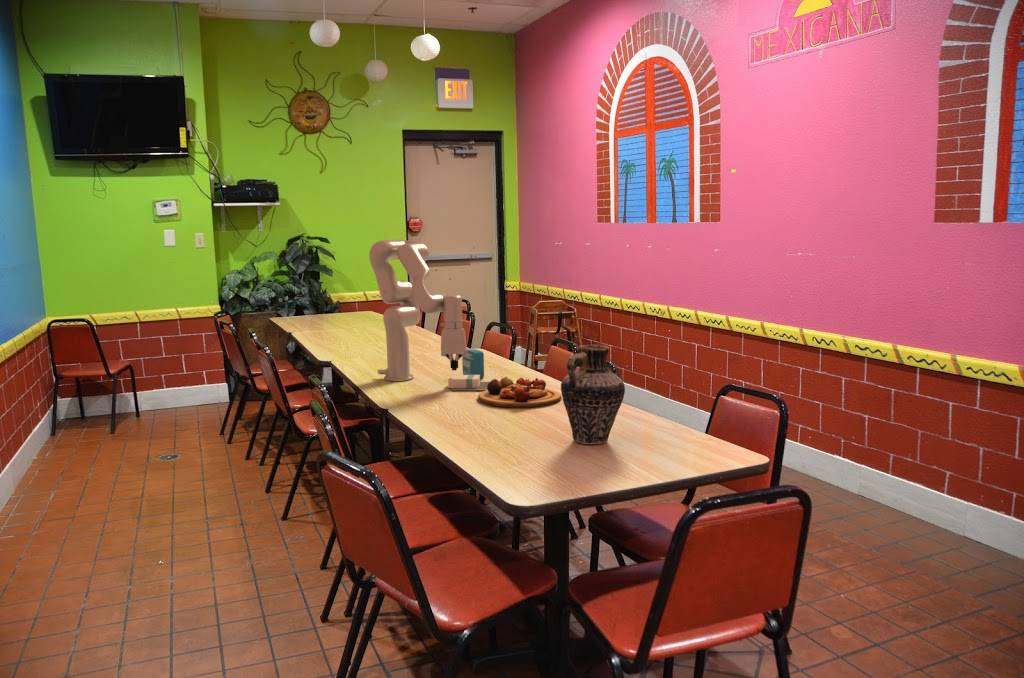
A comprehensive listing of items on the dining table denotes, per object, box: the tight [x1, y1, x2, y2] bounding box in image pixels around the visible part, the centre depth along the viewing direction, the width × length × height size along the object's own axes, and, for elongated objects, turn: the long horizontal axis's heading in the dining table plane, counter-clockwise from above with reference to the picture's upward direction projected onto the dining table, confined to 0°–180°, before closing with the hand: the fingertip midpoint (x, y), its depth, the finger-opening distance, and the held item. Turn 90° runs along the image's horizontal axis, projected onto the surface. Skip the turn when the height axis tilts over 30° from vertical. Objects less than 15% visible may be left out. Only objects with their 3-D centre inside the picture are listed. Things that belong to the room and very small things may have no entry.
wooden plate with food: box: [477, 376, 562, 409], centre depth 310 cm, size 32×32×8 cm
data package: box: [461, 347, 485, 380], centre depth 352 cm, size 12×4×12 cm, turn 30°
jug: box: [560, 344, 626, 446], centre depth 248 cm, size 21×19×30 cm
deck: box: [447, 374, 481, 389], centre depth 332 cm, size 4×9×12 cm
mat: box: [451, 381, 490, 392], centre depth 332 cm, size 19×16×1 cm
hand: (454, 369), depth 331 cm, fingers closed
